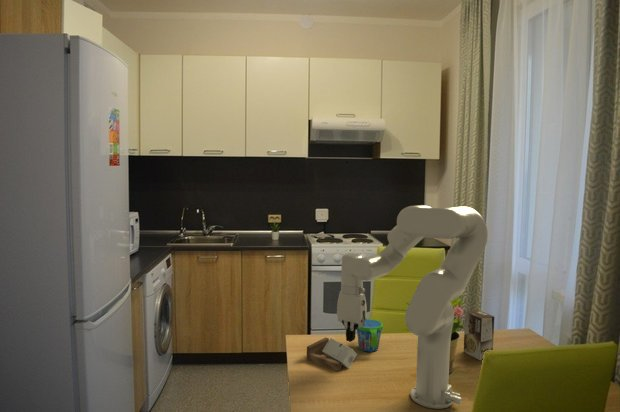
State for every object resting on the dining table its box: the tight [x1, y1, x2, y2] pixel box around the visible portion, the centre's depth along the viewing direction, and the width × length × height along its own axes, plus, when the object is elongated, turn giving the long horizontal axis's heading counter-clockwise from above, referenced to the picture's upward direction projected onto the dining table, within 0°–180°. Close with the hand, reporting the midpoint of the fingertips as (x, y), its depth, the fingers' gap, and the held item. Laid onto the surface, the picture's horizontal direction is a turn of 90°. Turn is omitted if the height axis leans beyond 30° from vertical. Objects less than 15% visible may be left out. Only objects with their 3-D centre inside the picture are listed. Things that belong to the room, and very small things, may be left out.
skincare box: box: [322, 337, 358, 369], centre depth 155 cm, size 6×4×12 cm
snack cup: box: [356, 318, 384, 353], centre depth 168 cm, size 16×10×10 cm
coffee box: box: [463, 309, 495, 361], centre depth 163 cm, size 9×6×16 cm
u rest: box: [306, 337, 357, 372], centre depth 157 cm, size 14×12×5 cm
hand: (350, 340), depth 151 cm, fingers closed
